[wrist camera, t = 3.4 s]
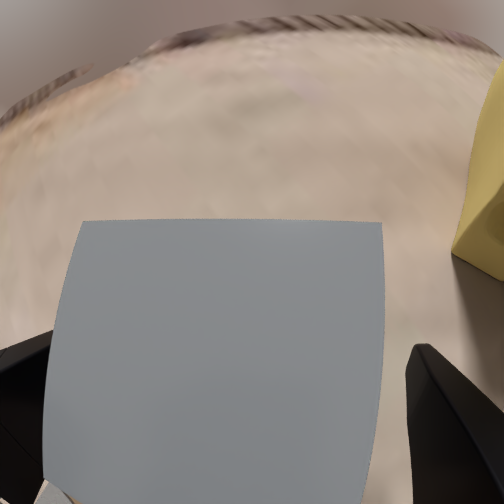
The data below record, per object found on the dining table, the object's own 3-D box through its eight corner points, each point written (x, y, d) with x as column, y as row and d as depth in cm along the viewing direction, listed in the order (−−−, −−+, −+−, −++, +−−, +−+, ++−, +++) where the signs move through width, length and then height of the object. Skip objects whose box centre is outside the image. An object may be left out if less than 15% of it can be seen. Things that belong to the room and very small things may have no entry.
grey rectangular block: (323, 438, 12) (338, 571, 2) (213, 424, 13) (43, 477, 3) (334, 330, 14) (381, 222, 4) (227, 322, 15) (82, 221, 5)
